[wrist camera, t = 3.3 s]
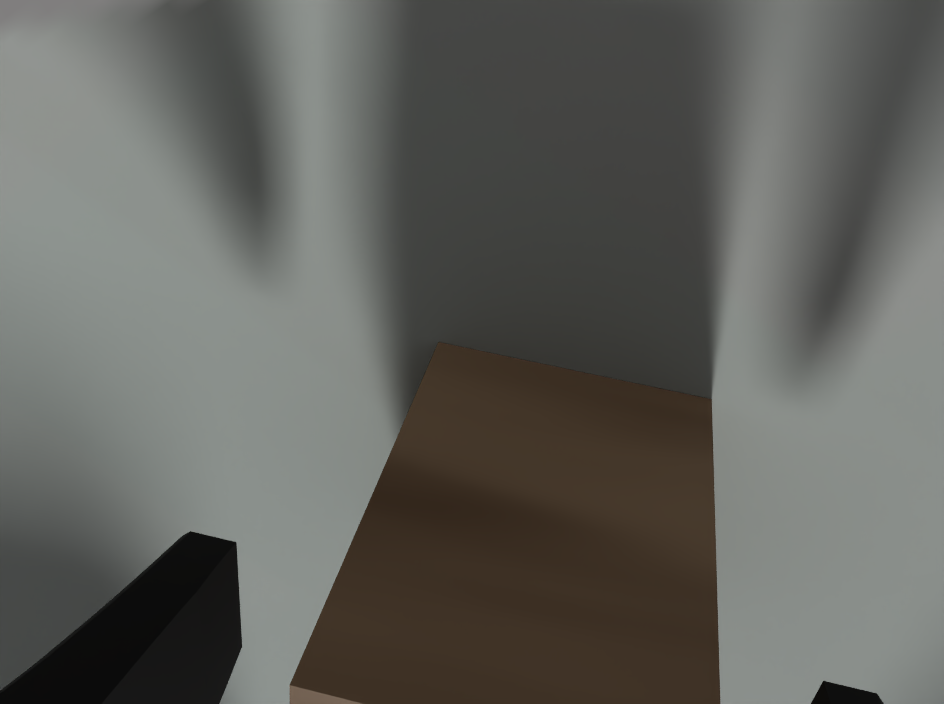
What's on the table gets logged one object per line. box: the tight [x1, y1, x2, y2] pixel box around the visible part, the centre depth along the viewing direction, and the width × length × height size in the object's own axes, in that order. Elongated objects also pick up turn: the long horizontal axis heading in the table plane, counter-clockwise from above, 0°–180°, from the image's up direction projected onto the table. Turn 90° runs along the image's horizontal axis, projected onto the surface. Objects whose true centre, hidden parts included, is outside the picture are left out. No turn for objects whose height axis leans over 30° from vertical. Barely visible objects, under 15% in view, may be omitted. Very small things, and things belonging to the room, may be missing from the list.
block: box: [290, 342, 720, 704], centre depth 12 cm, size 4×4×6 cm
